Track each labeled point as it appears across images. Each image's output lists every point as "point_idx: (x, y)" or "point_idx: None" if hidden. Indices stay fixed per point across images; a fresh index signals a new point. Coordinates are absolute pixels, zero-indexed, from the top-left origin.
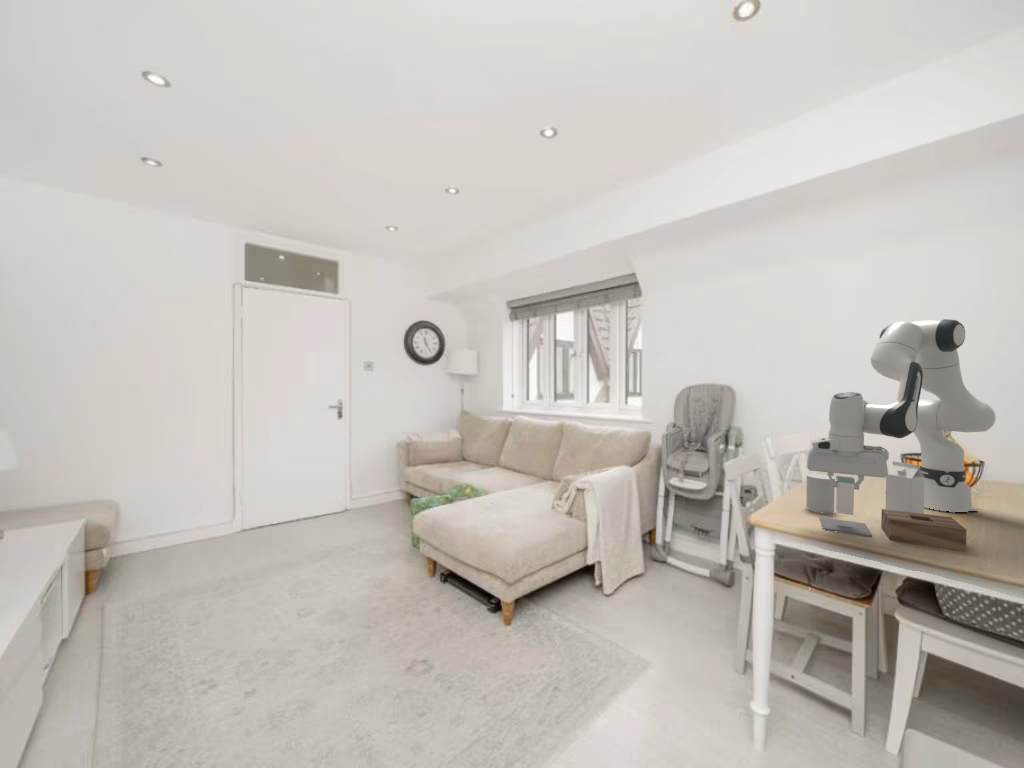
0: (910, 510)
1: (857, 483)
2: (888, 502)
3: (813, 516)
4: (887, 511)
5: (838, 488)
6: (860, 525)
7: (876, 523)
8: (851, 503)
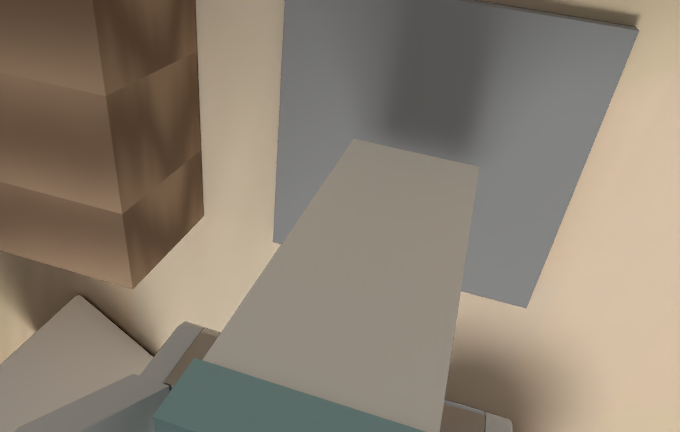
0: (24, 345)
1: (156, 389)
2: None
3: (546, 340)
4: (103, 228)
5: (446, 342)
6: (310, 191)
7: (215, 281)
8: (337, 193)
